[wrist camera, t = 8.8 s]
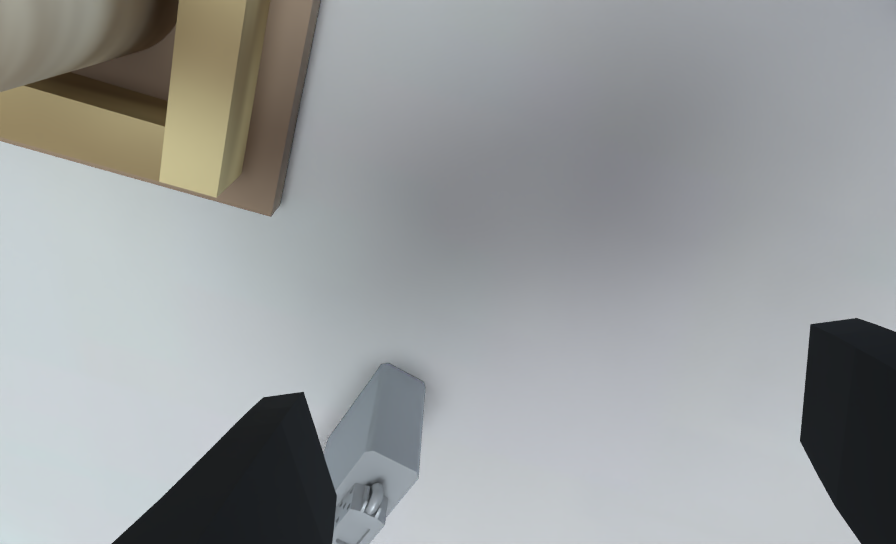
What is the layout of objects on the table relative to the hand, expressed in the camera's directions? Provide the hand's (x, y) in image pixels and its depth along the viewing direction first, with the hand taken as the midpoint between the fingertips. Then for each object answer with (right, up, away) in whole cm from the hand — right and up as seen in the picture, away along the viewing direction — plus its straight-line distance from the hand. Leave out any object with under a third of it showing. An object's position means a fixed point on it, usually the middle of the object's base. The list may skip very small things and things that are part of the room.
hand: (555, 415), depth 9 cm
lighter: (-5, -4, +14) cm, 15 cm away
